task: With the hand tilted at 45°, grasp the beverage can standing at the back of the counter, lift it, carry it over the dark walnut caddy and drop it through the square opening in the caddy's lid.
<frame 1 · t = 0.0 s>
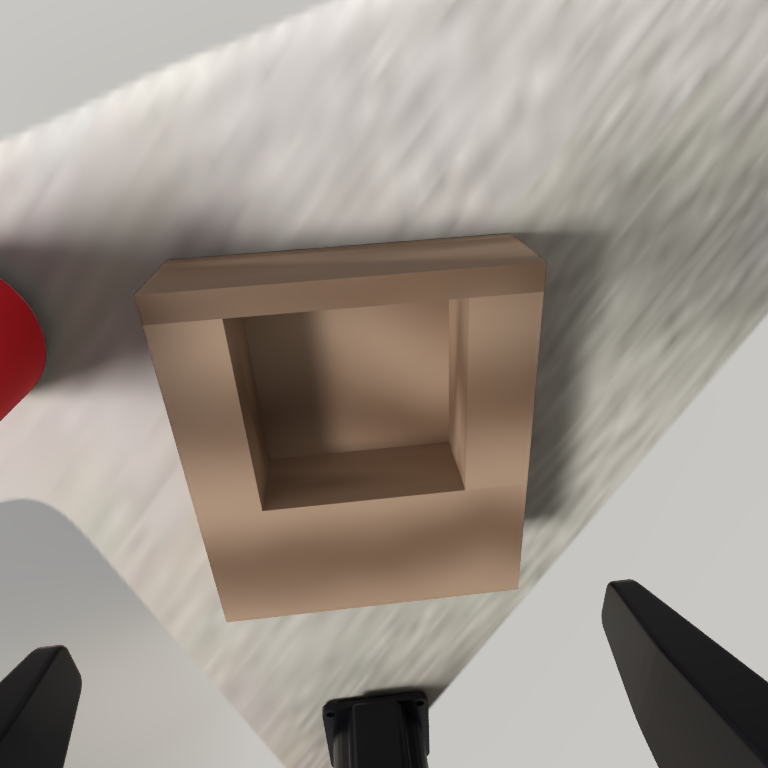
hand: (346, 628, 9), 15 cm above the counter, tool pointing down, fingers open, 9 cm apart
walnut caddy: (356, 415, 24), on the counter
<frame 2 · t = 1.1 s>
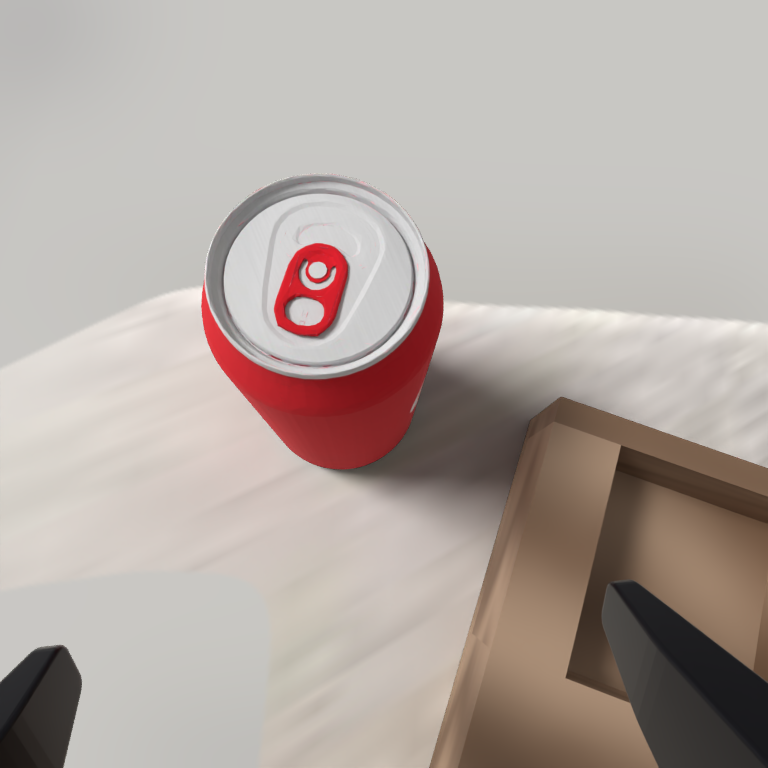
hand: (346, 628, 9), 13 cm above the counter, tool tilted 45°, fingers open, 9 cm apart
walnut caddy: (638, 652, 22), on the counter
beverage can: (342, 401, 24), on the counter
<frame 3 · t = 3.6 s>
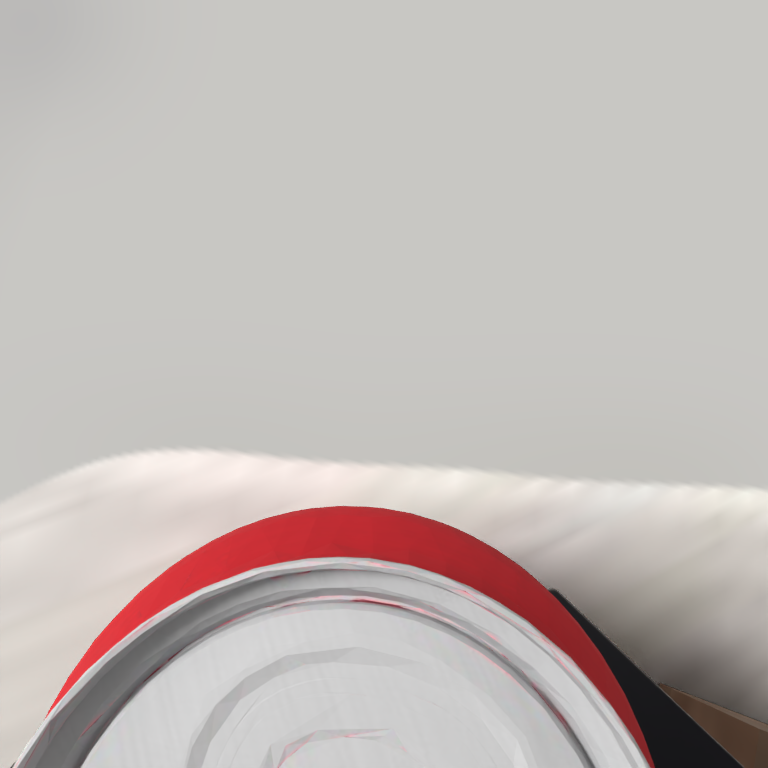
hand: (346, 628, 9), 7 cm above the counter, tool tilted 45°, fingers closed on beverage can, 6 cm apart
beverage can: (360, 648, 15), on the counter, touching gripper
when the fingers open (11 cm above the counter, at t = 7.5 s): beverage can drops 4 cm, resting on walnut caddy.
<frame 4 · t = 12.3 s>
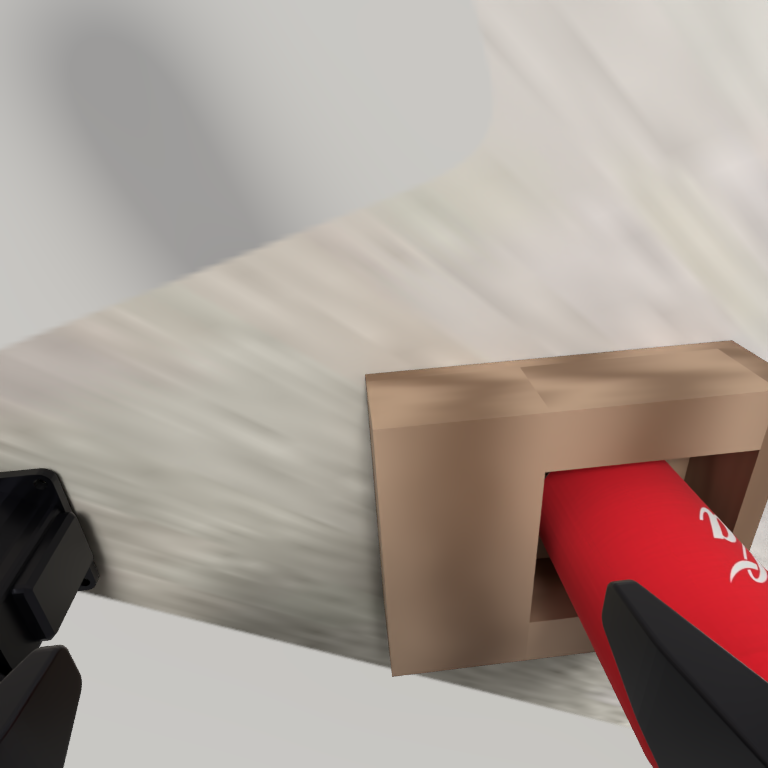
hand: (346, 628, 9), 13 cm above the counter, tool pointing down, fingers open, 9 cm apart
walnut caddy: (539, 485, 25), on the counter
beverage can: (592, 485, 25), resting on walnut caddy
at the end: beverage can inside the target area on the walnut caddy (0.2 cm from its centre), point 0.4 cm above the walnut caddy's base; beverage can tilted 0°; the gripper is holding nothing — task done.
